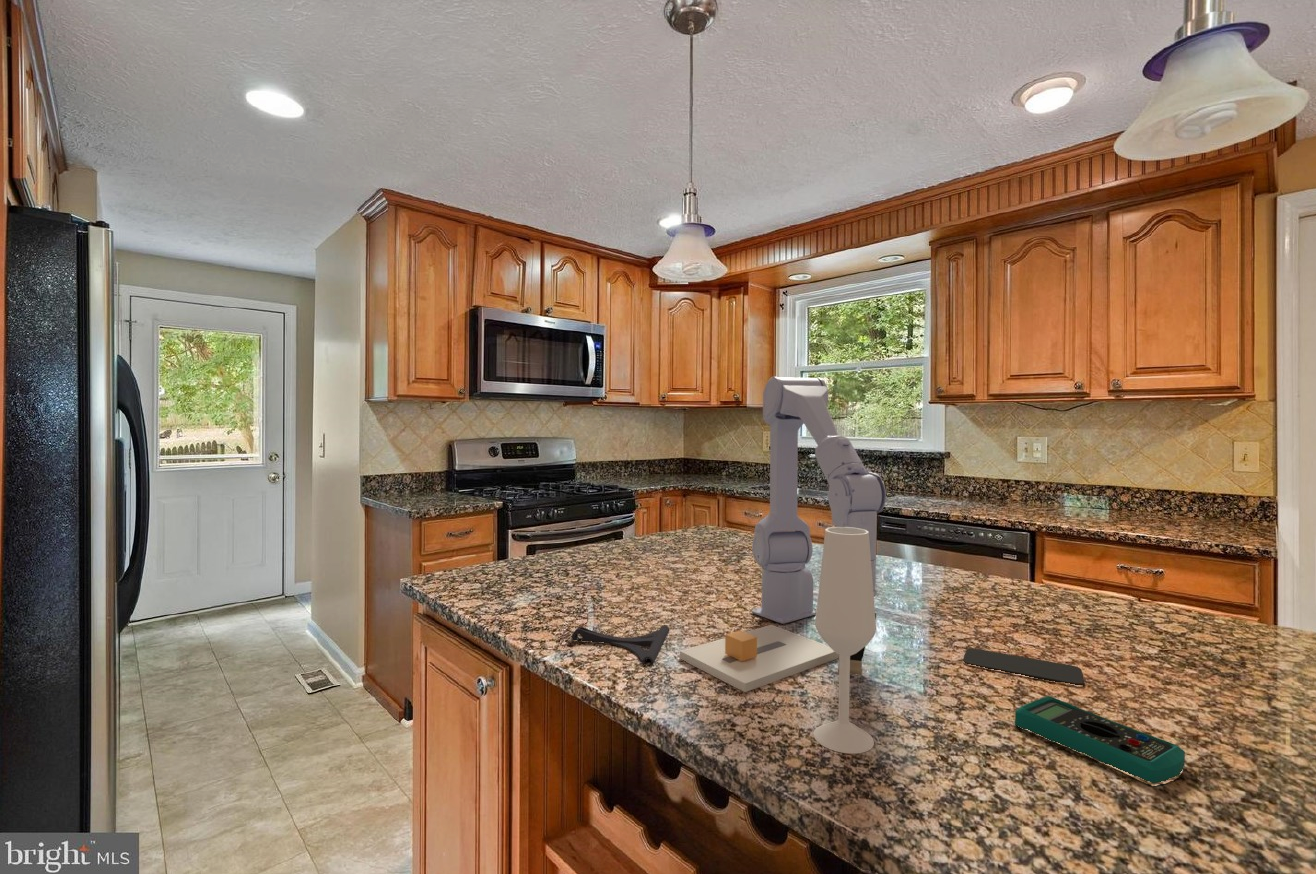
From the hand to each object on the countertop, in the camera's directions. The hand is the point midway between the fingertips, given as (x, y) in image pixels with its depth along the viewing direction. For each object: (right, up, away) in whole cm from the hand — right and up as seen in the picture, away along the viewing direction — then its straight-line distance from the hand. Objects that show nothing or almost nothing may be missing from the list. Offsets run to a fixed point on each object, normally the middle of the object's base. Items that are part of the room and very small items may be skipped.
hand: (853, 649), depth 90 cm
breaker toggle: (-16, -1, +2) cm, 16 cm away
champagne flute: (-7, -4, -19) cm, 20 cm away
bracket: (-35, -3, +10) cm, 37 cm away
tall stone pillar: (0, -3, 0) cm, 3 cm away
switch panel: (-13, -3, +4) cm, 14 cm away
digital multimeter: (+21, -5, -20) cm, 29 cm away
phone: (+25, -4, +1) cm, 26 cm away
